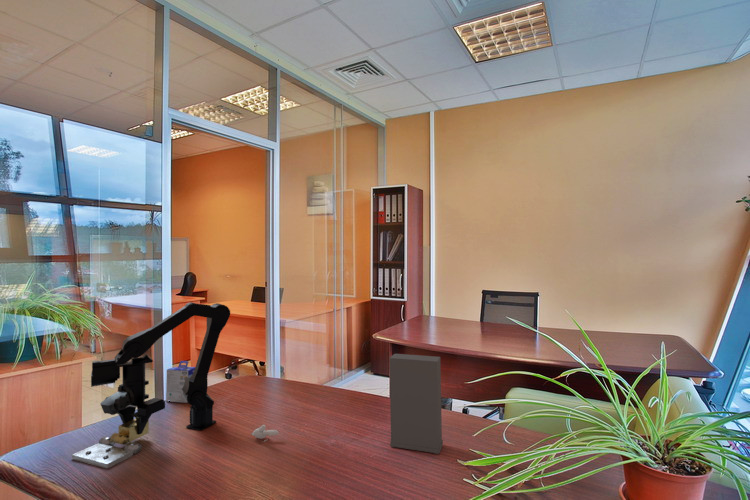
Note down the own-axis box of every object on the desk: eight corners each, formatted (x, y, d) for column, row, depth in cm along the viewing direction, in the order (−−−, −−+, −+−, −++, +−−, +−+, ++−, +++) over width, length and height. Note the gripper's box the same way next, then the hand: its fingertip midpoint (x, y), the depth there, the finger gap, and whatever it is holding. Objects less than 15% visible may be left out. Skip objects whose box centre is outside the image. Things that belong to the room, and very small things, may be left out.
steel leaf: (141, 451, 106) (141, 442, 106) (107, 468, 97) (107, 459, 98) (107, 443, 111) (107, 435, 111) (71, 459, 102) (71, 450, 103)
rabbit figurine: (263, 433, 116) (280, 426, 113) (261, 447, 114) (278, 440, 110) (247, 428, 113) (264, 420, 110) (244, 442, 110) (262, 434, 107)
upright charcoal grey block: (443, 444, 108) (441, 356, 109) (439, 454, 102) (437, 361, 103) (396, 437, 112) (395, 352, 113) (390, 447, 107) (389, 358, 107)
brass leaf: (148, 433, 114) (148, 418, 114) (121, 446, 106) (121, 430, 106) (137, 430, 115) (137, 416, 115) (110, 443, 107) (110, 428, 107)
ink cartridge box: (198, 398, 147) (198, 360, 148) (188, 403, 142) (188, 364, 142) (175, 396, 149) (175, 359, 150) (165, 401, 144) (165, 363, 144)
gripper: (83, 384, 108) (83, 440, 107) (130, 392, 101) (130, 451, 101) (122, 373, 118) (122, 424, 118) (166, 379, 112) (166, 433, 111)
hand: (134, 432), depth 112 cm, fingers closed on brass leaf, 4 cm apart
